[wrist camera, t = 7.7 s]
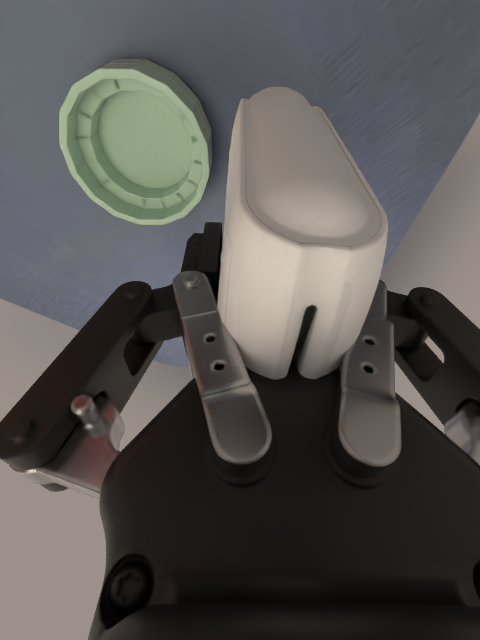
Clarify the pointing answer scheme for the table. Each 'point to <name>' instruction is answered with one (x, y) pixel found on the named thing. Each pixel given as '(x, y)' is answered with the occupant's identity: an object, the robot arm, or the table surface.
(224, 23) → the table surface
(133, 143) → the bowl
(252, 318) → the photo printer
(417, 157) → the table surface
